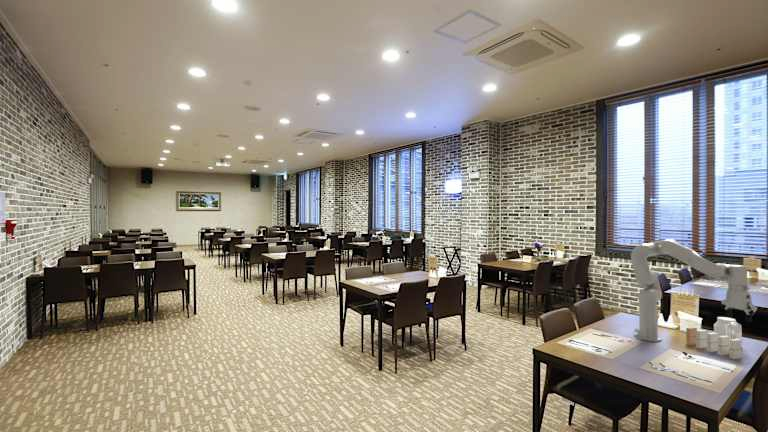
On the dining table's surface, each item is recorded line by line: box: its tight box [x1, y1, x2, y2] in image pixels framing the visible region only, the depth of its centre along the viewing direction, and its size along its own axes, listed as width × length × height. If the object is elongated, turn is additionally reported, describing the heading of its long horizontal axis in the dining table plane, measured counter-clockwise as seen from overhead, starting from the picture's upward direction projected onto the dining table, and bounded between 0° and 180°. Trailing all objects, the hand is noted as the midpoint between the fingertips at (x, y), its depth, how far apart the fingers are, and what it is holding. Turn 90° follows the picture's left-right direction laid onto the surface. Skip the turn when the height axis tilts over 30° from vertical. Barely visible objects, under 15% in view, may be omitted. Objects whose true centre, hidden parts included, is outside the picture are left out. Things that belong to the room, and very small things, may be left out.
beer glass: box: [725, 322, 743, 351], centre depth 211 cm, size 7×7×15 cm
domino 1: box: [685, 326, 698, 346], centre depth 219 cm, size 2×6×10 cm, turn 106°
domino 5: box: [729, 338, 742, 360], centre depth 198 cm, size 2×6×10 cm, turn 106°
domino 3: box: [706, 332, 718, 353], centre depth 209 cm, size 2×6×10 cm, turn 106°
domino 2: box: [696, 329, 708, 349], centre depth 214 cm, size 2×6×10 cm, turn 106°
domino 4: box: [717, 335, 730, 356], centre depth 204 cm, size 2×6×10 cm, turn 106°
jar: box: [713, 316, 737, 336], centre depth 221 cm, size 12×10×15 cm
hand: (738, 319), depth 197 cm, fingers open, 9 cm apart
